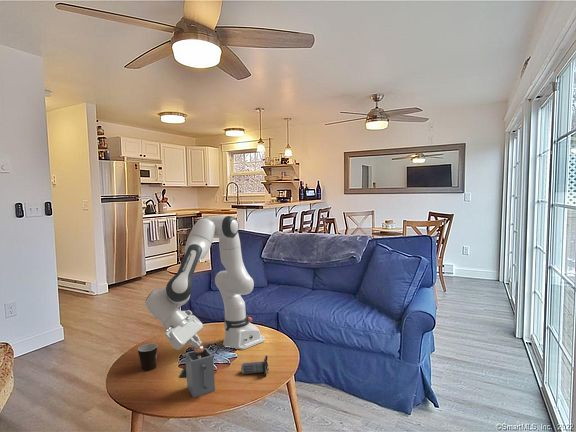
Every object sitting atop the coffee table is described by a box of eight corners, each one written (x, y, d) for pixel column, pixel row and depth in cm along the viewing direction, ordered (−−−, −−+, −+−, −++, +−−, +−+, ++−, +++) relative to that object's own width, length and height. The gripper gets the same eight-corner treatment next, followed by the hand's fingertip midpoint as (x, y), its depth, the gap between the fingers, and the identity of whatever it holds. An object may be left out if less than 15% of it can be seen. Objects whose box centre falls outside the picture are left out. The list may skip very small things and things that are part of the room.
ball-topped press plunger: (205, 373, 153) (203, 341, 152) (210, 379, 148) (208, 347, 147) (190, 377, 150) (188, 345, 149) (195, 384, 144) (193, 351, 143)
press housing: (207, 381, 155) (206, 347, 154) (217, 393, 145) (215, 358, 144) (187, 387, 151) (185, 353, 150) (195, 400, 141) (193, 364, 140)
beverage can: (269, 371, 165) (243, 373, 165) (268, 354, 165) (242, 356, 166) (267, 378, 156) (240, 380, 156) (266, 360, 156) (239, 362, 157)
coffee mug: (151, 373, 164) (150, 352, 163) (135, 371, 165) (133, 350, 165) (165, 361, 175) (164, 341, 174) (149, 359, 177) (148, 340, 176)
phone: (204, 359, 174) (197, 375, 159) (204, 361, 174) (197, 377, 159) (188, 359, 174) (179, 376, 159) (188, 362, 174) (179, 378, 159)
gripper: (167, 326, 138) (193, 352, 137) (191, 309, 158) (214, 331, 157) (158, 337, 139) (183, 362, 138) (183, 318, 159) (205, 340, 158)
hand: (199, 345), depth 147 cm, fingers closed, pressing on ball-topped press plunger
